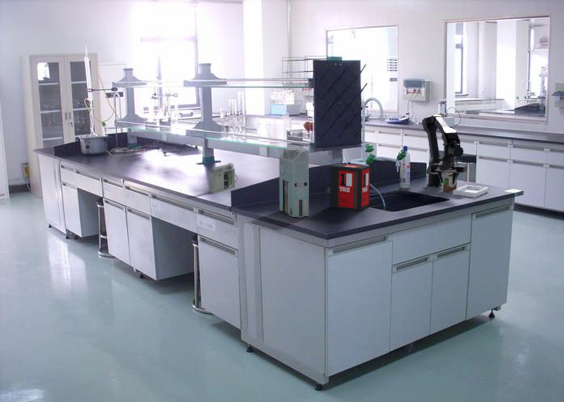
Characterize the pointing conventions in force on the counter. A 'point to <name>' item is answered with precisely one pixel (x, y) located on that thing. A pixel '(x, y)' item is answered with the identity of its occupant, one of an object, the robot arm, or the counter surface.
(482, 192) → the tray
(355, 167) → the cleaning product box
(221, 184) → the geiger counter
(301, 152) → the device
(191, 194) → the counter surface
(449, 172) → the food container
